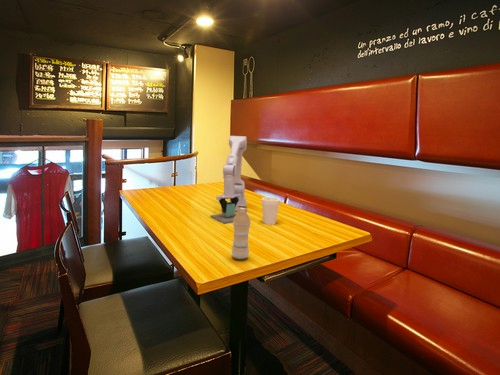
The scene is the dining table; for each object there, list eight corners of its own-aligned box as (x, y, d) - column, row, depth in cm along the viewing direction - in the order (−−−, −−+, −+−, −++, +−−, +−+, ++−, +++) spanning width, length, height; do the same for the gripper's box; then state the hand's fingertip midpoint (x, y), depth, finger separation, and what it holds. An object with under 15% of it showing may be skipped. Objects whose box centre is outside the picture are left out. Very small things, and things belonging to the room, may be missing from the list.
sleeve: (229, 212, 176) (229, 202, 175) (234, 214, 172) (234, 204, 171) (221, 213, 173) (222, 203, 172) (226, 216, 169) (227, 205, 168)
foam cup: (280, 222, 171) (281, 198, 169) (275, 226, 163) (277, 201, 160) (263, 219, 174) (264, 196, 172) (258, 224, 166) (259, 199, 163)
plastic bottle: (238, 253, 126) (240, 203, 122) (252, 257, 122) (254, 207, 118) (227, 258, 121) (229, 206, 117) (242, 263, 117) (244, 210, 113)
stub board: (231, 214, 183) (232, 206, 182) (246, 220, 172) (246, 212, 171) (210, 217, 174) (210, 209, 173) (224, 223, 163) (224, 215, 162)
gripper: (221, 189, 162) (220, 215, 165) (244, 187, 171) (243, 211, 173) (214, 187, 168) (213, 212, 170) (237, 185, 177) (236, 208, 179)
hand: (228, 211), depth 172 cm, fingers closed on sleeve, 5 cm apart
